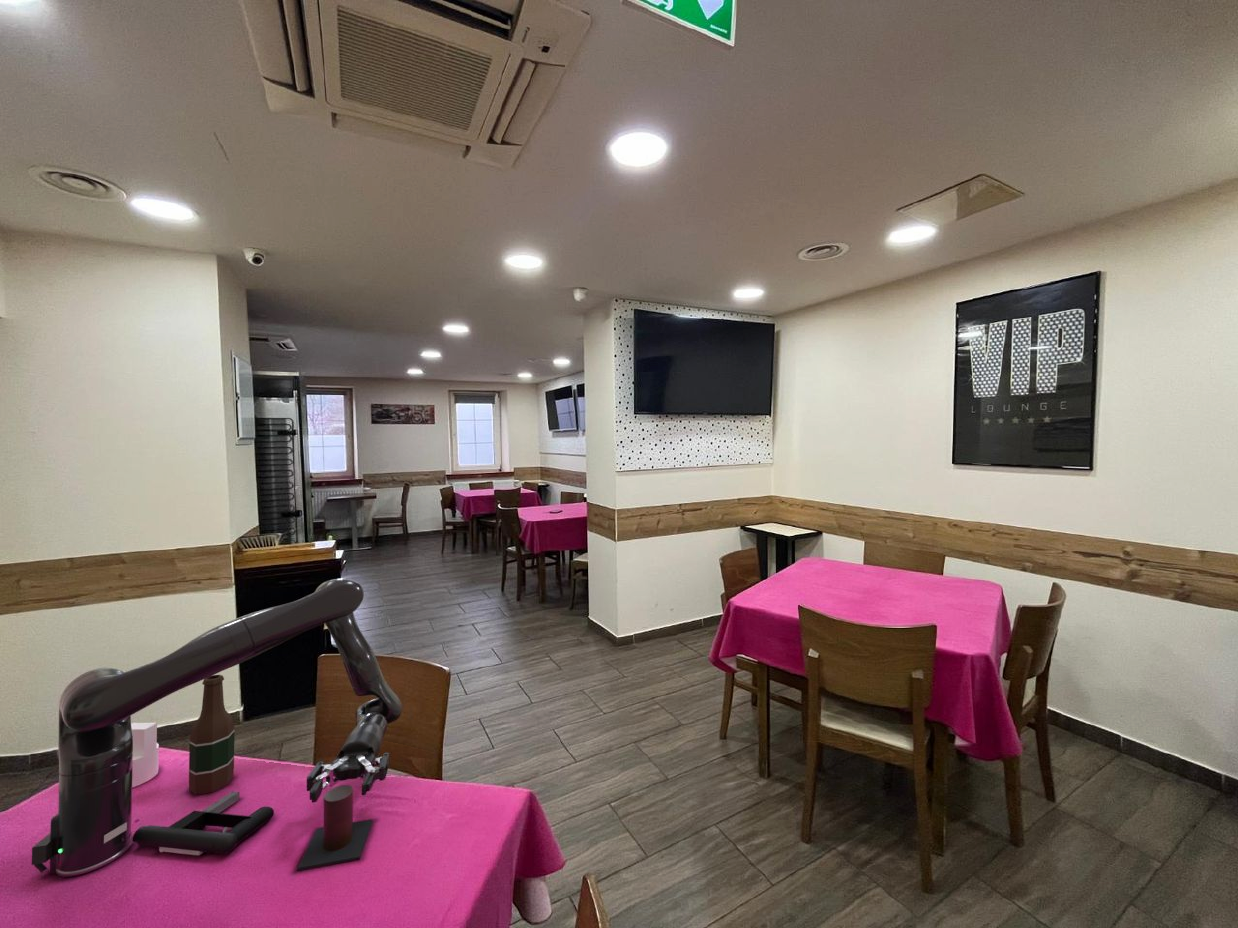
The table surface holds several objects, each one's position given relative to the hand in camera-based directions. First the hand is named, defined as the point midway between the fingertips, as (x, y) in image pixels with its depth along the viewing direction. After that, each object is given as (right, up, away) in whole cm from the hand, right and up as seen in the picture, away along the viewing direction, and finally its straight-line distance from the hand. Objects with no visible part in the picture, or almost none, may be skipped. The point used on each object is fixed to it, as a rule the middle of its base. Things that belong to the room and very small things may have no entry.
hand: (339, 793), depth 92 cm
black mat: (0, -9, -1) cm, 9 cm away
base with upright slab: (-59, -10, +19) cm, 62 cm away
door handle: (-27, -9, +4) cm, 29 cm away
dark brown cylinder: (0, -8, -1) cm, 9 cm away
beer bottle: (-39, -10, +17) cm, 43 cm away
